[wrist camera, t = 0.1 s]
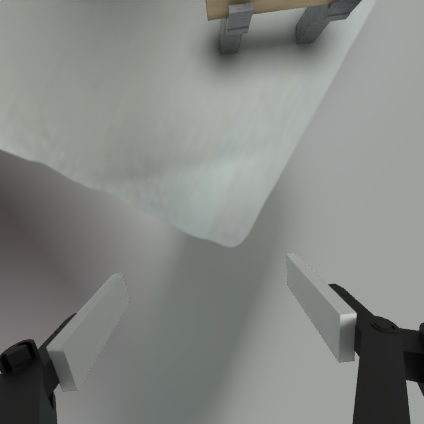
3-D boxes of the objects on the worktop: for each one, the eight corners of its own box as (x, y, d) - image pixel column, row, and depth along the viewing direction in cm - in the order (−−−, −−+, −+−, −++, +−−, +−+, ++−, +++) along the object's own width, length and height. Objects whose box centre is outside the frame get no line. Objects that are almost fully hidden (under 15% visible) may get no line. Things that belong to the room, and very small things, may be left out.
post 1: (218, 23, 36) (222, -58, 23) (234, 20, 36) (248, -61, 23) (222, 66, 37) (229, 14, 24) (238, 64, 37) (253, 11, 24)
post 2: (295, 12, 35) (343, -75, 23) (312, 9, 35) (370, -79, 23) (296, 56, 37) (342, -2, 24) (313, 54, 37) (367, -5, 24)
